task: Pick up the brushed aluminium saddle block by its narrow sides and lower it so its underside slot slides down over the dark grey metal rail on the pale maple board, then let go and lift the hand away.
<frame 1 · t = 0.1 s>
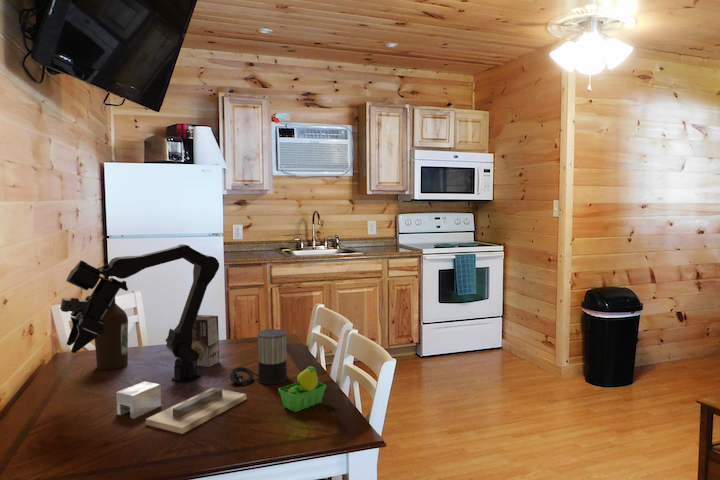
hand: (70, 348, 144), 15 cm above the table, tool tilted 35°, fingers open, 9 cm apart
olive oil: (112, 366, 176), on the table
saddle block: (139, 410, 139), on the table
milk frother: (259, 381, 161), on the table
fruit basket: (304, 406, 141), on the table
rail board: (199, 411, 138), on the table
coffee box: (203, 364, 179), on the table
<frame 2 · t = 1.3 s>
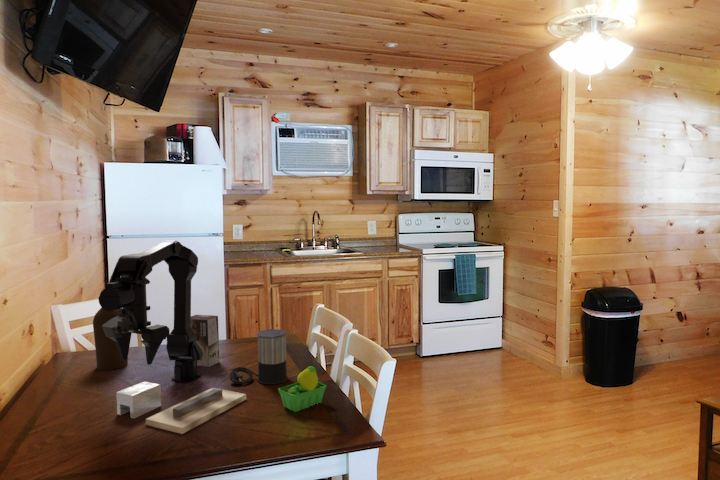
hand: (136, 362, 138), 13 cm above the table, tool pointing down, fingers open, 9 cm apart
nothing on the table moved.
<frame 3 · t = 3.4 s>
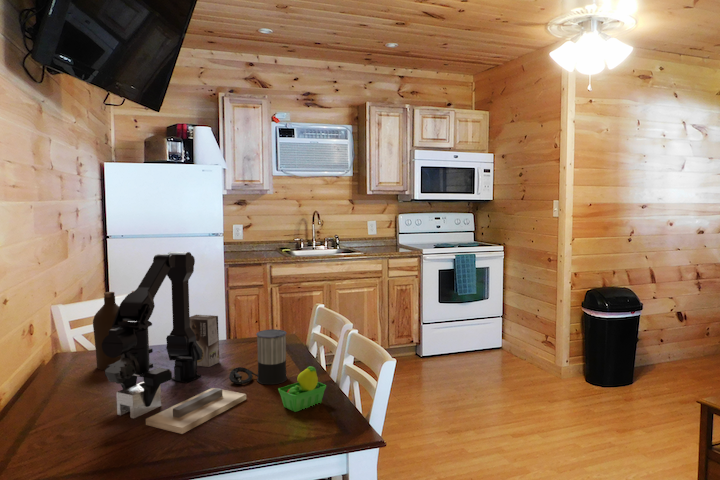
hand: (139, 404, 139), 2 cm above the table, tool pointing down, fingers closed on saddle block, 6 cm apart
saddle block: (139, 410, 139), on the table, touching gripper
everything else where it was.
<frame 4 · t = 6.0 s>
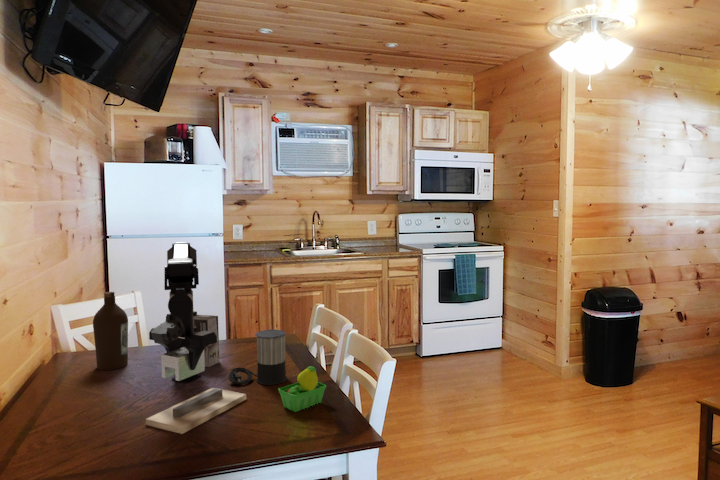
hand: (183, 368, 137), 12 cm above the table, tool pointing down, fingers closed on saddle block, 6 cm apart
saddle block: (183, 373, 137), point 10 cm above the table, touching gripper
everything else where it was.
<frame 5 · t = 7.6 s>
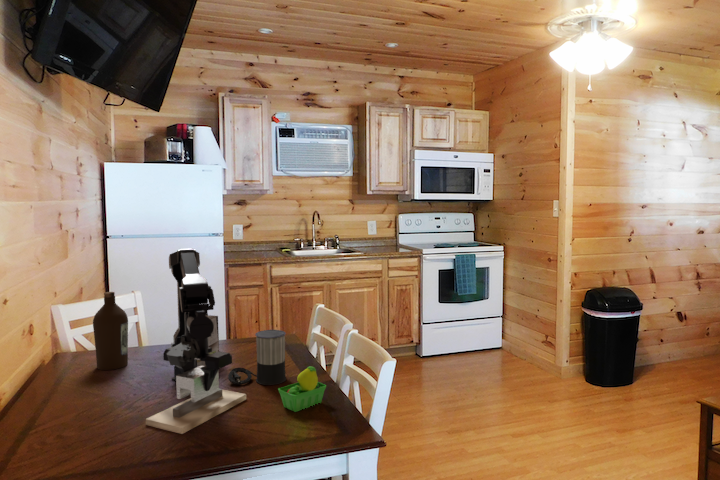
hand: (198, 388, 137), 6 cm above the table, tool pointing down, fingers closed on saddle block, 6 cm apart
saddle block: (198, 394, 137), point 5 cm above the table, touching gripper
everything else where it was.
when the fingers open (4 cm above the table, at t = 9.0 s): saddle block stays where it is, resting on rail board.
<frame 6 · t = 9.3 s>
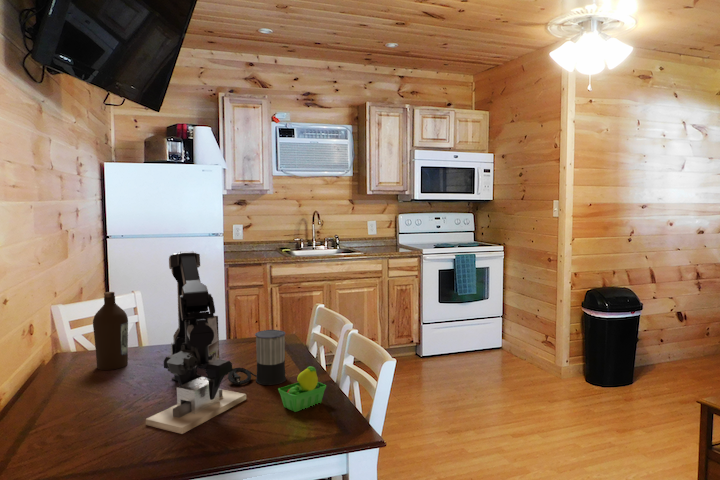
hand: (198, 396, 137), 4 cm above the table, tool pointing down, fingers open, 9 cm apart
saddle block: (198, 405, 137), point 1 cm above the table, touching rail board
everything else where it was.
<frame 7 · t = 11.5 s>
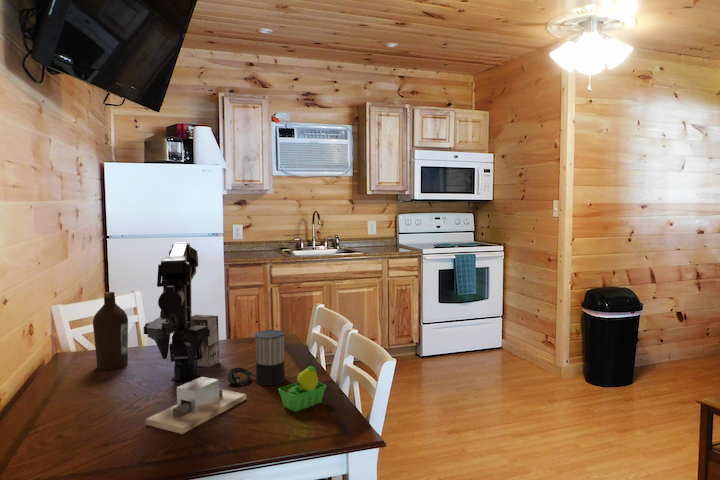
hand: (177, 361, 143), 12 cm above the table, tool pointing down, fingers open, 9 cm apart
nothing on the table moved.
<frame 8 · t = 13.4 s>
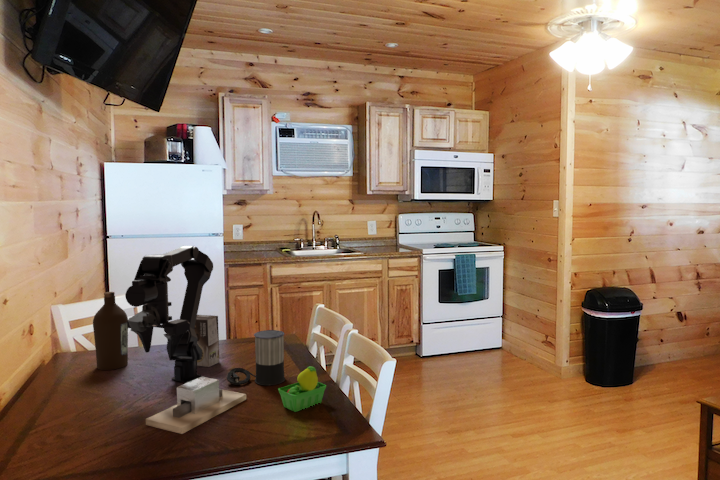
hand: (159, 354, 148), 12 cm above the table, tool pointing down, fingers open, 9 cm apart
at the end: saddle block inside the target area on the rail board (0.0 cm from its centre), point 1.5 cm above the rail board's base; saddle block tilted 0°; the gripper is holding nothing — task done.
